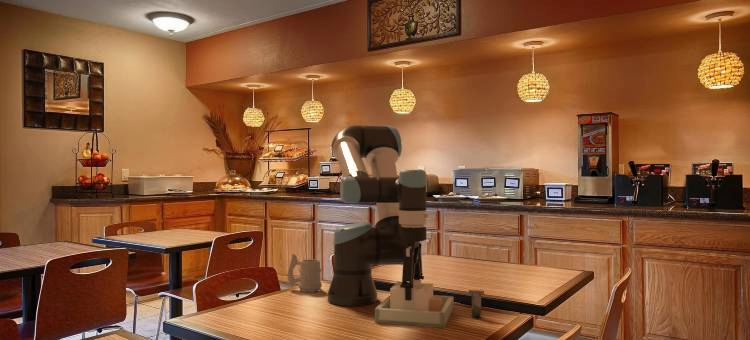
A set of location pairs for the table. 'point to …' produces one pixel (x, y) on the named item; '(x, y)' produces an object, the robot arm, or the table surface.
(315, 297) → the table surface
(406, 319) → the tray
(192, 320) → the table surface
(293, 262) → the mug
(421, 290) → the beige recessed block
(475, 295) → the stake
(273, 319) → the table surface
